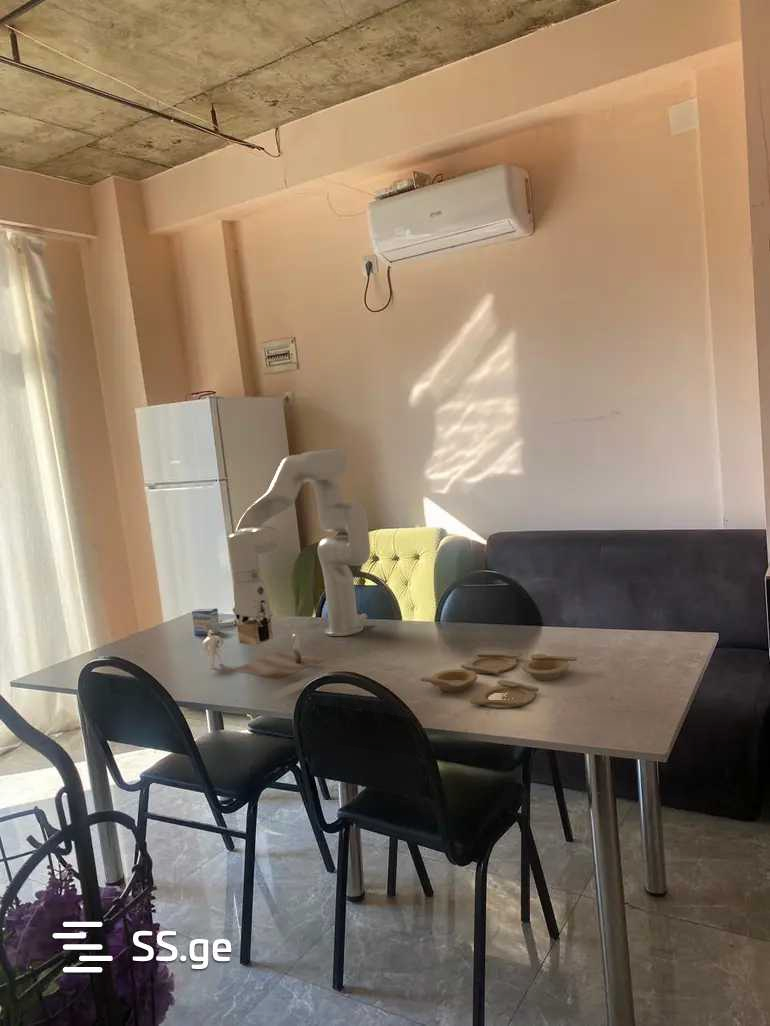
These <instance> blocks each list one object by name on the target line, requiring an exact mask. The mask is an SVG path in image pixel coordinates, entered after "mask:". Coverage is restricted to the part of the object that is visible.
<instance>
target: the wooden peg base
mask: <svg viewBox="0 0 770 1026" xmlns="http://www.w3.org/2000/svg"><path fill="white" fill-rule="evenodd" d="M291 639H292V645H293V653H286V652H280V651H277V652H275V653H273V654H272V653H271V654H270V655H266V656H265V657H262V658H259V659H256V660H254V661H251V662H248V663H246V664H243V665H240V666H239V667H236V668H232V669H230V671H233V672H237V673H240V674H241V673H242V674H246V675H247V674H248V675H253V676H257V677H263V678H268V679H272V680H273V679H274V680H281V679H284V678H285V677H288V676H291V675H292V674H295V673H299V672H300V671H302V670H305V669H307V668H310V667H312V666H314V665H317V664H319V663H321V662H324V661H326V659H325V658H324V659H323V658H318V657H311V656H305V655H302V654H301V653H302V651H301V646H300V645H301V644H300V636H299V633H293V634H291Z"/></svg>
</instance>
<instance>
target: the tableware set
mask: <svg viewBox="0 0 770 1026" xmlns="http://www.w3.org/2000/svg"><path fill="white" fill-rule="evenodd" d="M475 654H476V655H475V656H476V657H473V658H471V659H468V660H467V661H466V662H465V663H462V664H460V668H459V669H457V668H455V669H454V668H453V669H446V670H442V671H439V672H436V673H433V675H431V676H430V677H427V676H423V677H420V681H421V682H424V683H430V684H431V685H433V686H435V687H439V689H440V690H441V691H443V692H446V691H448V693H456V692H457V691H458V692H462V691H465V690H467V689H468V688H469V686H470V685H471V684H473V683H474V682H476V681H477V680H478V674H485V675H487V674H488V675H489V674H496V675H498V674H500V673H502V672H503V673H504V672H507V671H509V670H512V669H514V668H516V666H517V659H516V658H520V657H521V656H522V654H523V653H522V652H509V653H508V652H507V653H495V652H494V653H493V652H492V653H491V652H476V653H475ZM529 657H530V660H527V661H525V662H523V663H522V664H521V670H522V671H523V672H525V673H526V674H530V676H531V678H533V679H534V680H539V681H551V680H552V679H553V680H557V679H558V677H559V676H560V677H561V675H562V673H563V672H564V671H567V670H568V669H569V667H570V663H569V662H576V661H577V660H578V657H577V656H569V655H568V656H561V655H546V654H543V653H535V654H532V655H530V656H529ZM560 677H559V678H560ZM556 678H557V679H556ZM496 683H497V684H498V685H496V686H492V687H489V688H486V689H483V690H481V691H480V692H479V693H477V694H476V697H472V698H471V700H470V701H469V704H472V705H482V706H485V707H487V708H492V709H508V708H509V709H510V708H517V707H520V706H524V705H527V704H529V703H531V702H532V701H533V700H534V699H535V698H536V693H537V692H539V691H540V689H539V687H538V686H534V685H529V684H523V683H520V682H515V681H510V680H506V679H502V678H501V679H499V680H497V681H496ZM507 692H508V693H507ZM535 692H536V693H535ZM494 693H501V694H502V693H504V694H505V693H507V694H506V695H505V696H506V697H505V696H503V695H504V694H503V695H502V696H503V697H502V696H501V697H502V698H501V699H503V700H489V699H488V697H489V696H490V695H492V694H494ZM512 698H513V699H512ZM504 699H506V700H504ZM508 699H509V700H508Z"/></svg>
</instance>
